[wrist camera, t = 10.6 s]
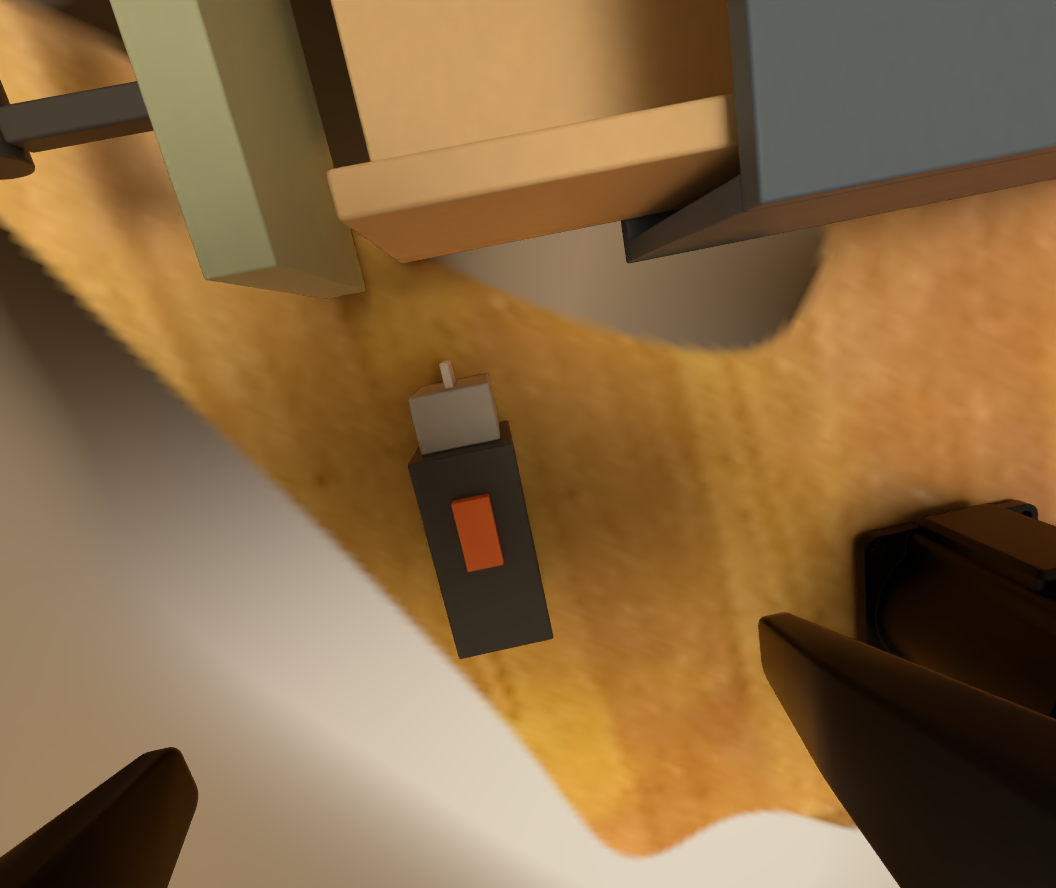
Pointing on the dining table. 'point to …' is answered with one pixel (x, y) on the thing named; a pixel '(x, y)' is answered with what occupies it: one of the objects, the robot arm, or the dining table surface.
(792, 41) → the cabinet
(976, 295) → the dining table surface
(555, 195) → the drawer
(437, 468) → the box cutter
